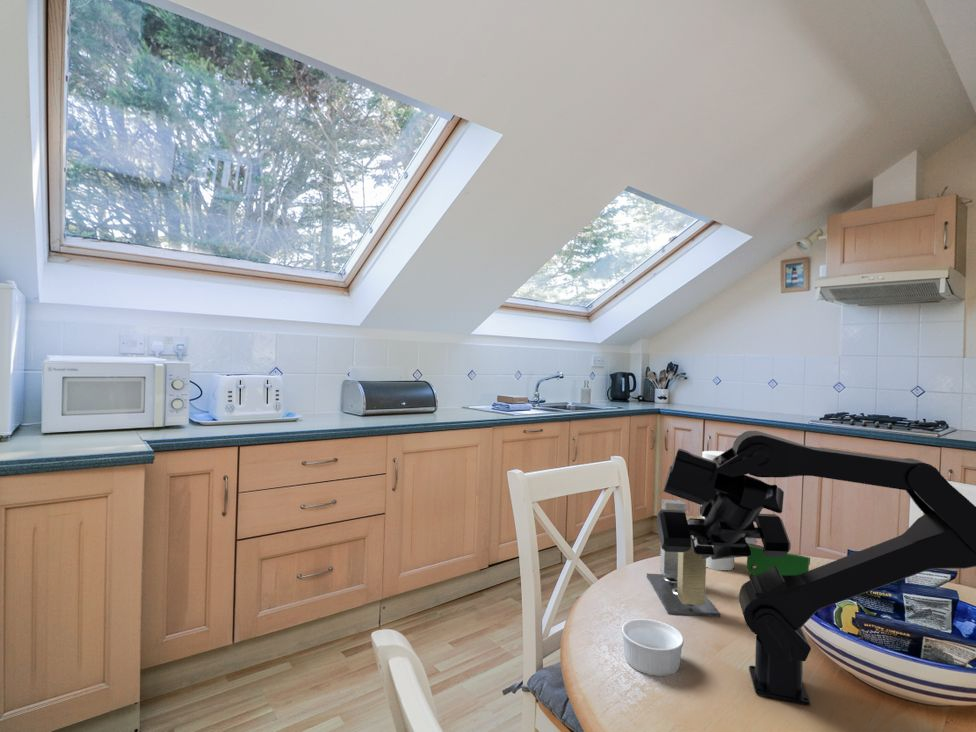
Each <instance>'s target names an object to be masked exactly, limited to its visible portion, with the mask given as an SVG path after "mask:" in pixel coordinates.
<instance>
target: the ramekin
mask: <svg viewBox="0 0 976 732" xmlns="http://www.w3.org/2000/svg"><path fill="white" fill-rule="evenodd" d="M621 635H622V641H623V643H622V644H623V645H622V646H623V655H624V659H625V661H626V662H627V664H628V665H630V666H631V667H632V668H633V669H635V670H636V671H638V672H640V673H642V672H643V674H645V673H646V674H645V675H648V676H649V675H650V676H654V677H665V676H666V677H667V676H671V675H673V674H675V673H676V672H677V671H678V670H679V668H680V666H681V665H680V664H681V658H682V657H681V656H682V649H683V646H684V642H685V640H684V639H685V638H684V636H683V634H682V633H681V632H680V631H679V630H678V629H677V628H675V627H673V626H671V625H670V624H668V623H665V622H663V621H659V620H654V619H650V618H649V619H648V618H636V619H635V618H634V619H630V620H628V621H625V622H624V623H623V625H622V626H621Z"/></svg>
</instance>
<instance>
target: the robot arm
mask: <svg viewBox="0 0 976 732" xmlns="http://www.w3.org/2000/svg"><path fill="white" fill-rule="evenodd" d="M723 452H724V453H722V454H721V455H719V456H718V457H716V458H714V459H713V461H712V460H709V459H706V458H703V457H702V456H699V455H696V454H693V453H691V452H689V451H688V450H685V449H682V448H677V450H676V454H675V456H674V458H673V461H672V464H671V465H670V466H669V469H668V472H667V476H666V479H665V483H664V485H663V486H664V487H663V491H662V492H664V493H667V494H670V495H671V496H674V497H677V498H681V499H683V500H686V501H688V502H691V503H694V504H697V505H700V508H699V512H700V513H699V514H700V516H702V517H705V519H694V518H690V519H689V520H688V523H687V518H686V516H687V513H686V514H685V512H684V511H683V510H662V508H661V509H660V511H659V512H658V513H657V515H656V519H655V520H656V524H657V530H658V535H659V540H660V541H659V542H660V549H661V548H662V549H663V550H665V551H666V552H686V551H689V550H690V548H691V542H692V546H693V551H694V553H696V554H698V555H701V559H706V558H708V557H711V559H712V560H715V559H724V558H734V559H736V558H743V557H744V558H747V557H749V556H750V555H751V551H750V547H749V546H750V545H756V544H757V543H758V540H759V539H761V543H762V546H763V547H762V548H763V549H762V552H763V554H764V555H765V556H769V557H785V555H786V554H789V552H790V551H791V546H792V545H791V540H790V538H789V536H788V533H787V529H786V528H785V524H784V521H783V519H782V518H781V517H780V516H779V515H777V514H782V512H783V508H784V507H783V505H784V498H785V497H784V495H785V494H784V493H785V492H784V490H782V488H780V487H779V486H778V485H777V484H769V483H767V482H765V481H763V480H761V479H759V478H791V477H801V476H803V477H804V476H805V477H817V478H823V479H829V480H837V481H842V482H843V481H844V482H850V483H856V484H862V485H870V486H876V487H883V488H888V489H896V490H902V491H905V492H906V493H907V495H908V496H909V498H911V500H912V502H913V503H914V504H915V505H916V507H917V508H919V510H920V511H921V512H922V513H923V515H921V516H920V517H917V519H916V520H914V522H913V523H912V524H911V525H910V526H909V527H908V528H907V529H906V531H905V532H904V533H902V534H900V535H899V536H898V535H897V536H896V537H893V538H890V539H888V540H885V541H883V542H880V543H878V544H874V545H872V546H870V547H867V548H865V549H862V550H859V551H857V552H855V553H854V552H853V553H851V554H849V555H847V556H844V557H841V558H839V559H836V560H833V561H831V562H827V563H826V564H823V565H821V566H818V567H815V568H813V569H810V570H809V571H807V572H805V573H802V574H799V575H781V574H780V572H779V570H778V568H777V567H772V568H770V569H768V570H767V571H765V572H763V573H761V574H758V575H753V574H749V575H748V578H749V580H748V581H746V582H744V583H743V584H742V585H741V587H740V590H739V593H738V600H739V601H738V602H739V604H740V608H741V612H742V615H743V619H744V622H745V625H746V627H747V628H748V629H749V630H750V632H752V633H753V634H754V635H755V657H754V659H755V663H754V665H749V666H748V671H749V675H750V679H751V682H752V685H753V689H754V692H755V694H756V695H759V696H763V697H769V698H772V699H778V700H782V701H787V702H793V703H796V704H800V705H801V704H802V705H806V706H809V705H811V699H810V697H809V694H808V692H807V689H806V687H805V686H804V682H803V670H804V669H803V665H804V663H803V662H806V661H807V659H808V656H809V655H810V652H811V649H812V648H811V647H812V646H811V645H810V643H809V641H808V639H807V637H806V634H805V633H804V631H803V629H802V627H803V626H804V625H805V624H806V623H807V622H808V621H809V620H811V618H812V617H813V616H814V615H815V614H816V613H817V612H819V611H820V610H823V609H825V608H827V607H830V606H832V605H835V604H838V603H841V602H843V601H846V600H849V599H851V598H855V597H858V596H861V595H863V594H866V593H868V592H871V591H875V590H877V589H879V588H880V589H881V588H883V587H885V586H887V585H888V586H889V585H891V584H894V583H895V582H899V581H901V580H905V579H907V578H910V577H913V576H915V575H918V574H921V573H923V572H924V573H925V572H926V571H930V570H937V569H938V570H944V569H945V570H947V569H951V570H954V569H955V570H956V569H961V570H962V569H963V570H964V569H971V568H975V567H976V505H975V504H973V503H972V502H971V501H970V500H969V499H968V498H967V497H966V496H965V495H963V494H962V493H961V492H960V491H959V490H958V489H957V488H955V487H954V486H953V484H951V483H949V481H948V480H947V479H946V478H945V477H944V476H943V475H942V474H941V473H940V471H939V470H938V468H936V467H935V466H933V465H932V464H929V463H927V462H924V461H922V460H918V459H915V458H897V457H890V456H889V457H888V456H882V455H876V454H875V455H874V454H870V453H869V454H868V453H861V452H852V451H846V450H838V449H830V448H824V447H816V446H809V445H806V444H802V443H798V442H795V441H793V440H789V439H787V438H786V439H785V438H784V437H780V436H777V435H773V434H769V433H766V432H763V431H760V430H759V431H758V430H747V431H744V432H742V433H740V435H737V437H736V438H735V440H734V441H733V444H732V447H730V448H728V449H727V450H726V451H723ZM749 475H750V476H749ZM701 505H702V506H701ZM763 509H765V510H769V511H772V512H774V513H761V512H762V510H763ZM776 513H777V514H776ZM754 523H755V524H756V526H755V524H754ZM757 539H758V540H757ZM712 546H713V547H712Z"/></svg>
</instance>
